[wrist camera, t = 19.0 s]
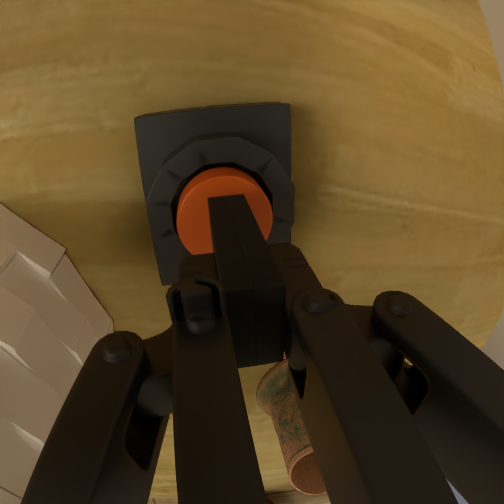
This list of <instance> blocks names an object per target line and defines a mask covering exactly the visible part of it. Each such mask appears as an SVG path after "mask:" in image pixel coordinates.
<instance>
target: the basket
mask: <svg viewBox="0 0 504 504" xmlns="http://www.w3.org/2000/svg"><path fill="white" fill-rule="evenodd" d="M65 250H66V248H64V247H63V246H61V245H60V244H58V243H57V242H55V241H54V240H52V239H50V238H49V237H47V236H46V235H44V234H43V233H42V232H40V231H39V230H37V229H36V228H34V227H33V226H31V225H30V224H28V223H27V222H25V221H24V220H23V219H21V218H20V217H18V216H17V215H16V214H14V213H13V212H11V211H10V210H9V209H7V208H6V207H4V206H3V205H2V203H0V504H21V501H22V498H23V496H24V493H25V490H26V488H27V485H28V483H29V480H30V478H31V475H32V473H33V470H34V468H35V465H36V463H37V461H38V458H39V456H40V454H41V451H42V449H43V447H44V444H45V442H46V440H47V438H48V435H49V433H50V431H51V429H52V427H53V425H54V422H55V420H56V418H57V416H58V414H59V412H60V410H61V408H62V406H63V404H64V402H65V400H66V398H67V396H68V394H69V392H70V390H71V388H72V386H73V384H74V382H75V380H76V378H77V376H78V374H79V372H80V370H81V368H82V366H83V364H84V363H85V361H86V359H87V357H88V355H89V353H90V351H91V350H92V348H93V346H94V345H95V344H96V343H97V341H98V340H99V339H101V338H102V337H104V336H106V335H107V334H110V333H113V332H114V331H113V322H112V318H110V316H109V315H108V314H107V312H106V311H105V310H104V308H103V307H102V306H101V304H100V303H99V302H98V300H97V299H96V298H95V296H94V295H93V293H92V292H91V291H90V289H89V288H88V286H87V285H86V283H85V282H84V281H83V279H82V278H81V276H80V275H79V273H78V272H77V270H76V269H75V267H74V266H73V264H72V263H71V261H70V260H69V258H68V257H67V255H66V254H64V252H65ZM63 254H64V255H63Z"/></svg>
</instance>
